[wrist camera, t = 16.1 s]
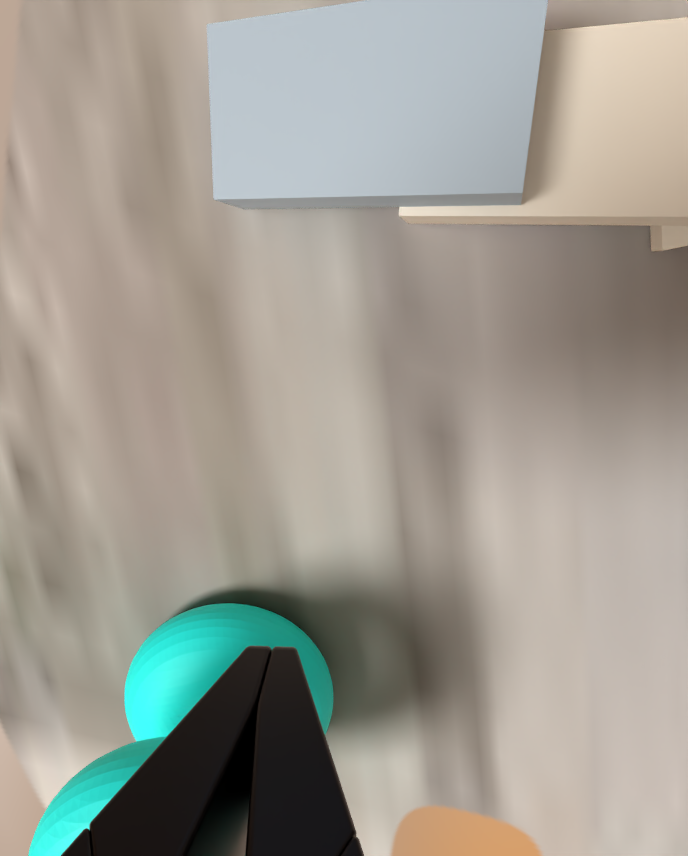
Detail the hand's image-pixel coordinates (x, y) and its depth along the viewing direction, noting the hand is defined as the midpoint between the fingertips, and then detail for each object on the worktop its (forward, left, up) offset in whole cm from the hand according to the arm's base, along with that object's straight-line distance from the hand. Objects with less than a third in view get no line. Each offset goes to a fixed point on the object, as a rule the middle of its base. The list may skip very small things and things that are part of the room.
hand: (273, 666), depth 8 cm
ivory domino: (-3, -11, -12) cm, 17 cm away
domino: (+3, -11, -12) cm, 17 cm away
